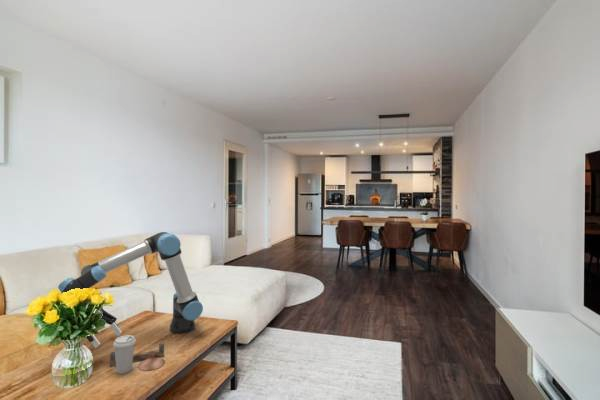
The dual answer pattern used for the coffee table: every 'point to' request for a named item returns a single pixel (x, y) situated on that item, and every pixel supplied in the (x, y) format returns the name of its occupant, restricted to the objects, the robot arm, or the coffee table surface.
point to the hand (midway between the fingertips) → (109, 339)
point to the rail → (145, 359)
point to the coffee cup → (124, 353)
